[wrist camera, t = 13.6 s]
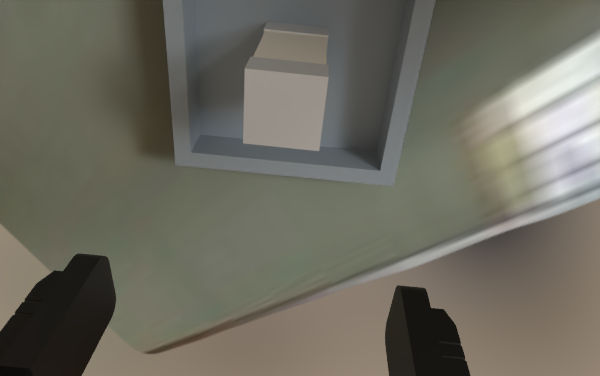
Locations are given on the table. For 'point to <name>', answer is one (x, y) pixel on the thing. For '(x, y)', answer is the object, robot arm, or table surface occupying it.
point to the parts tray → (340, 91)
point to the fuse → (287, 87)
